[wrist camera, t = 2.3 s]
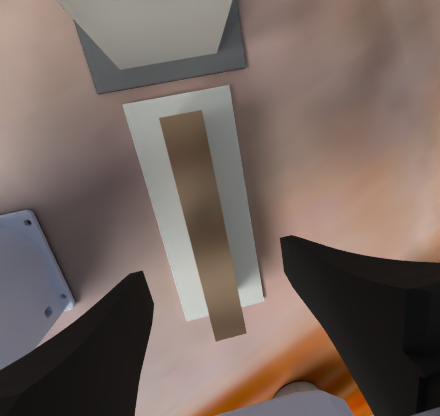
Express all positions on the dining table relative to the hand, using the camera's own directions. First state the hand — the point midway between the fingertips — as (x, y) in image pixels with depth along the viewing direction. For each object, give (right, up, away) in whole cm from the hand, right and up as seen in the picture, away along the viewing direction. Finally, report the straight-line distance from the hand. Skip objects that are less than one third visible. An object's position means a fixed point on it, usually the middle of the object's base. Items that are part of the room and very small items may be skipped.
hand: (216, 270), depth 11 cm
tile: (-4, +14, +4) cm, 15 cm away
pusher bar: (-1, +2, +8) cm, 8 cm away
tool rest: (-1, +2, +8) cm, 9 cm away
